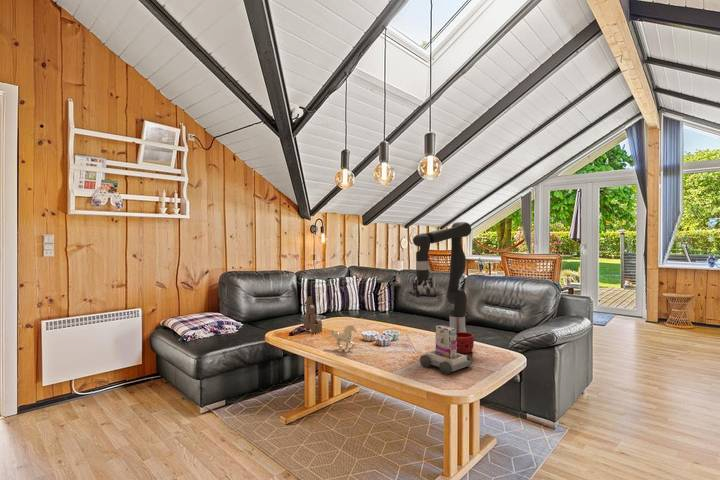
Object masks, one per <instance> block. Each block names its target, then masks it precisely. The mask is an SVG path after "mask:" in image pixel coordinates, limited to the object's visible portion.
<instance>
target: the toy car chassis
mask: <svg viewBox="0 0 720 480" xmlns="http://www.w3.org/2000/svg"><path fill="white" fill-rule="evenodd" d="M424 353H425V354H423V355H421V356H420V357H419V363H420V365H421V367H423V368H429V367H430V365H432V366H435V367H438V368H439V371H440V373H442V374H443V375H450V373H451V372H455V371H458V370H460V369H463V368H468V367H471V366H472V365H473V359H472V356H471V357H470V356H469V355H467V354H465V355H462V354H458V353H457V358H455V359H448V358H445V357H442V356H439V355H436V348H435V349H432V350H428V351H425V352H424Z"/></svg>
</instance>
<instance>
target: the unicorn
mask: <svg viewBox="0 0 720 480" xmlns="http://www.w3.org/2000/svg"><path fill="white" fill-rule="evenodd" d="M355 325H356V323H354V324H348V325H345V326H346V327H344V329H343V330H342V332H343V333H342V332H339V331H336V330H335V329H331V330H330V332H329V335H331V336H333V337H334V340H335V342H336V346H338V347H339V348H340V349H341V348H342V349H341V351H343V350H344V351H346V350H347V349H349V350H352V349H353V348H354V347H355V346H356V345H355V344H356V343H354V342H353V341H351V340H352V337H353V336H352V332H355V333H357V332H358V331H357V329H356V328H355ZM341 342H343V343H345V348H343V346H342V345H341ZM349 344H350V345H352V346H349Z"/></svg>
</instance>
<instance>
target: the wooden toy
mask: <svg viewBox="0 0 720 480" xmlns="http://www.w3.org/2000/svg"><path fill="white" fill-rule="evenodd" d="M304 305H305V316H304V317H303V321H302V323H303V326H304V327H305V328H306V329H307V330H310V329H311V330H310V331H311V334H313V333H318V334H320V333H319V332H321V333H323V321H322V319H321V318H319V317H318V318H317V314H316V307H315V305H314V304H313V296H308V297H307V299H306V300H305V301H304Z"/></svg>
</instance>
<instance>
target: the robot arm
mask: <svg viewBox="0 0 720 480" xmlns="http://www.w3.org/2000/svg"><path fill="white" fill-rule="evenodd" d="M471 234H472V225H471V224H470V223H469V222H465V221H461V222H459V221H458V222H457V221H456V222H454V223H453V224H452V226H451V227H450V228H449V227H448V228H442V229H437V230H433V231H429V232H425V233H420V234H416V235H415V236H414V237H413V238H412V243H413V244H414V246H416V247H419V249H418V251H416V252H415V276H416V278H417V279H412V290H413V291H415V297H416V298H420V297H421V295H420V294H421V293H420V292H421V291H420V290H421V289H422V288H423V287H425V288H426V289H425V290H426V291H425V292H426V296H429V297H430V296H431V290H432V289H433V287H434V285H433V277H430V267H429V266H430V263H429V251H430V247H431V244H436V243H439V242H440V243H441V242H443V241H446V240H450V239H451V247H450V248H451V251H450V263H449V265H450V267H449V271H450V272H449V277H448V280H449V281H448V287H447V292H446V299H447V302H448V303H449V304H451V305H453V306H454V307H453V309H452V310H450V311H449V327H451V328H455V329H457V332H465V333H467V328H466V312H467V303H468V298H467V293H466V292H465V291H463V290H459V284H460V280H461V279H462V278H463V275H464V273H465V270H466V267H467V266H466V265H467V257H466V254H465V252H464V249H463V247H462V238H465V237H468V236H470V235H471Z"/></svg>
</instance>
